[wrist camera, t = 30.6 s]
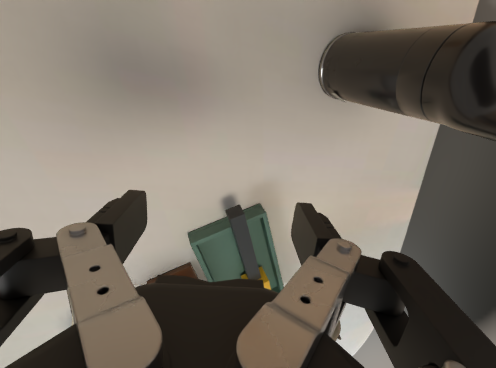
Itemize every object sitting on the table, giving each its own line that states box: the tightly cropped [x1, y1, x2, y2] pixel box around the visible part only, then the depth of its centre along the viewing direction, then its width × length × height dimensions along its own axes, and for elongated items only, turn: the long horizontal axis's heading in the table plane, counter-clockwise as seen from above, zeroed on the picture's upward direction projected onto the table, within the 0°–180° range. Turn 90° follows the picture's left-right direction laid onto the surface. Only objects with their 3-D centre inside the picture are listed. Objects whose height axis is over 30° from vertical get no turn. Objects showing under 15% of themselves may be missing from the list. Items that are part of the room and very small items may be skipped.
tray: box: [188, 204, 284, 293], centre depth 50 cm, size 24×14×3 cm, turn 12°
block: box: [226, 205, 271, 290], centre depth 46 cm, size 24×5×4 cm, turn 12°
